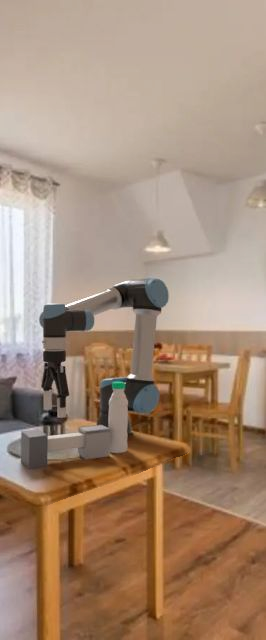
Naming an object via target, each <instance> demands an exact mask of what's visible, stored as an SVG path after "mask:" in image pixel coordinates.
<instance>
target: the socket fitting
mask: <svg viewBox="0 0 266 640" xmlns="http://www.w3.org/2000/svg"><path fill="white" fill-rule="evenodd" d="M20 432H21V435H20V436H21V437H20V439H21V440H20V462H22V464H23V465H24V466H25V467H26V468H27V469H29V470H32V469H37V468H44V467H48V452H47V449H48V436H49V435H48V434H47V433H45V432H44V431H42V430H40V429H29V430H22V431H20Z"/></svg>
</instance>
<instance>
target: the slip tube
mask: <svg viewBox="0 0 266 640" xmlns="http://www.w3.org/2000/svg"><path fill="white" fill-rule="evenodd" d="M79 447H85V434H84V433H83V432H79V433H78V432H73V433H63V434H56V435H55V434H54V435H48V449H47V453H48V452H55V451H61V450H62V451H63V450H71V449H78V448H79Z"/></svg>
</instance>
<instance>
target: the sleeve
mask: <svg viewBox="0 0 266 640" xmlns="http://www.w3.org/2000/svg"><path fill="white" fill-rule="evenodd" d="M79 432H83V433H84V434H85V447H79V448H77V454H78V453H79V454H80V455H81V456H82V457H81V456H80V455H79V456H80V457H81V458H83V459H85V460H93V459H97V458H98V459H101V458H106V457H107V458H108V457H110V455H111V452H110V429H109V428H107V427H105V426H103V425H96V424H95V425H87V426H79V427H78V429H77V433H79Z"/></svg>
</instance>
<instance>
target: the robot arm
mask: <svg viewBox="0 0 266 640" xmlns="http://www.w3.org/2000/svg"><path fill="white" fill-rule="evenodd" d="M169 295H170V294H169V290H168V286H167V285H166V283H165V282H164V281H162V280H161V279H159V278H152V277H150V278H140V279H129V280H125V281H123V282H120V283H117V284H114V285H113V286H109V287H107V288H106V289H105V290H104V291H103V292H100V293H96V294H94V295H91V296H88V297H86V298H83V299H80V300H78V301H74V302H72V303H68V304H67V305H66V304H65V303H46V304H44V305H43V310H42V312H41V313H40V315H39V324H40V327H42V331H43V332H42V335H43V336H42V339H43V340H41V344H42V345H43V346H42V347H43V349H44V351H42V361H43V362H44V365H43V367H44V368H43V372H42V373H43V374H42V379H41V383H40V385H41V386H40V387H41V389H42V390H43V411H50V410H52V409H53V407H52V405H53V403H52V402H53V400H52V399H53V396H52V395H53V387H52V386H53V383H54V385H55V387H56V392H57V395H56V399H57V401H56V403H57V405H56V407H57V412H56V413H57V415H56V417H57V419H60V418H67V398H68V397H69V396H70V390H69V384H68V378H67V375H66V366H65V365H62V363H65V362H66V360H67V351H66V350H65V349H66V348H67V332H83V333H84V332H88V331H91V330H92V329H93V327H94V326H95V316H96V315H98V314H102V313H105V312H107V311H109V310H119V309H122V308H132V312H133V313H134V314H135V319H134V320H135V325H134V331H133V341H132V342H133V344H132V352H131V362H130V372H129V374H128V375H127V376H122V377H120V376H119V377H109V378H103V379H102V380H101V381H100V385H99V387H100V388H99V416H98V418H97V421H96V424H95V425H103V426H105V427H107V428H109V425H108V417H109V400H110V398H111V395H112V393H113V388H112V383H113V382H124V383H125V390H124V393H125V395H126V398H127V400H128V406H127V407H128V412H133V413H136V414H142V415H145V414H149V413H151V412H153V411H154V410H155V409H156V408H157V406H158V403H159V400H160V390H159V388H158V386H156V385H155V382H156V381H155V378H154V377H153V376H152V375H153V374H152V372H153V362H154V361H153V360H154V352H155V341H156V332H157V331H156V329H157V321H158V320H157V319H158V316H159V315H160V314H162V308H164V307H166V305H167V304H168V302H169ZM127 434H128V435H131V434H132V425H131V422H130V418H129V416H128V426H127Z"/></svg>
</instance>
